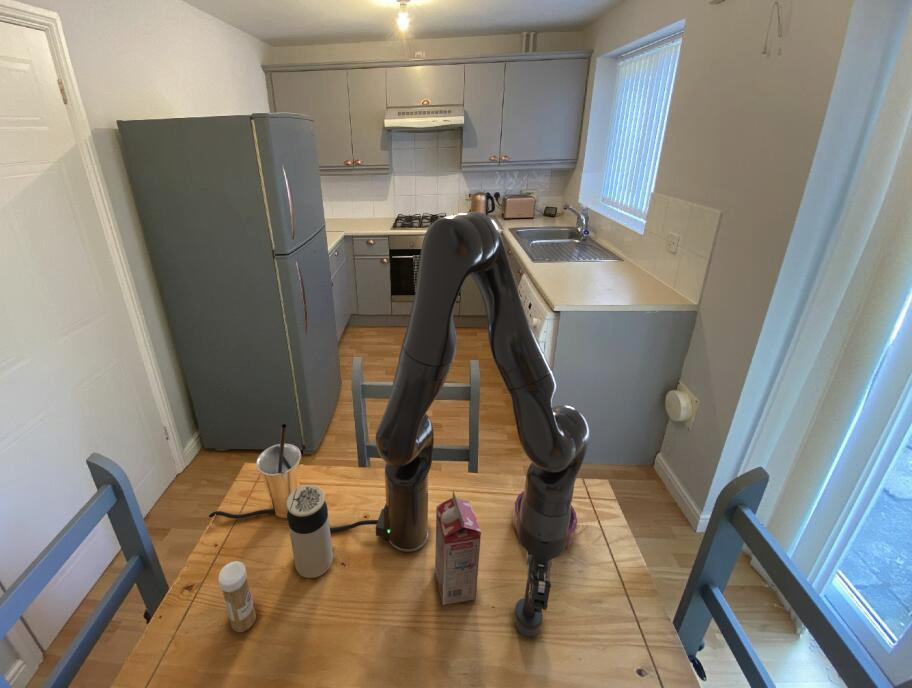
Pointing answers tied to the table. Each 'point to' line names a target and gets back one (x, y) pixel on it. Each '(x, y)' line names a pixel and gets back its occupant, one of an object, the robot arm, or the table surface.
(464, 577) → the juice carton
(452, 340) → the robot arm
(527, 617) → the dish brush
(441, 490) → the table surface
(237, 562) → the sprinkles bottle
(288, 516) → the travel mug
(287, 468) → the metal cup with straw
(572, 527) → the bowl
